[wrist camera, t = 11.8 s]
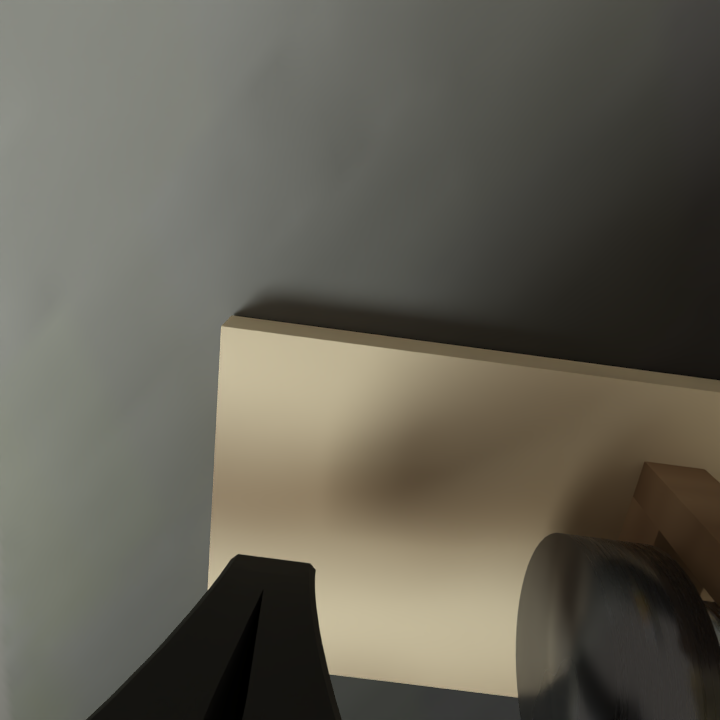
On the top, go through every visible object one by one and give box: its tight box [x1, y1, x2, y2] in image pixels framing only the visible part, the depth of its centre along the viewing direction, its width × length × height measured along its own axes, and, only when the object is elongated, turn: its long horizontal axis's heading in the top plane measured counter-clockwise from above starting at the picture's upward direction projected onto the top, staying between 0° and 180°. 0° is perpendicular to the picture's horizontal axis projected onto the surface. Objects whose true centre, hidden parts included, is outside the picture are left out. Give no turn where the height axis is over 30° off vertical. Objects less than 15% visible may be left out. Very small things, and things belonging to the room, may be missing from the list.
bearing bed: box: [208, 316, 720, 697], centre depth 10 cm, size 8×18×5 cm, turn 83°
